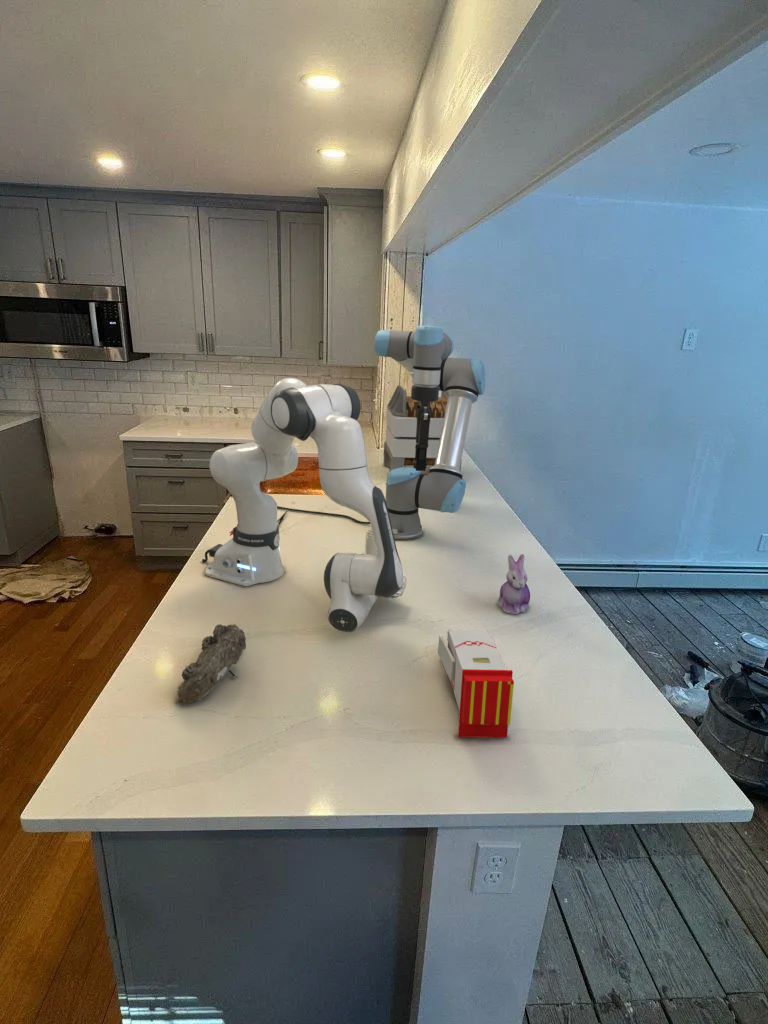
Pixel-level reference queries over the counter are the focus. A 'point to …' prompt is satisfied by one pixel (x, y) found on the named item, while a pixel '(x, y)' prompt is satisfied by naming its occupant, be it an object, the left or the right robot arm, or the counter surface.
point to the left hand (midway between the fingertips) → (374, 568)
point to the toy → (478, 682)
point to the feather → (281, 518)
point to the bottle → (370, 543)
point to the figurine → (515, 588)
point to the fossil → (212, 662)
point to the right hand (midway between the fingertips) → (419, 468)
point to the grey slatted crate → (410, 430)
